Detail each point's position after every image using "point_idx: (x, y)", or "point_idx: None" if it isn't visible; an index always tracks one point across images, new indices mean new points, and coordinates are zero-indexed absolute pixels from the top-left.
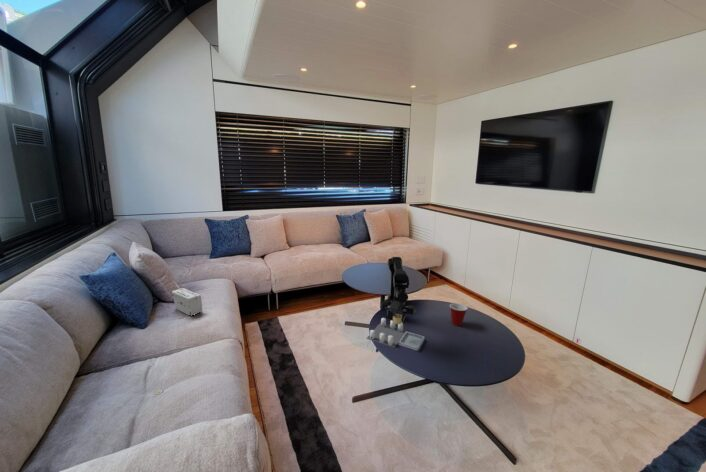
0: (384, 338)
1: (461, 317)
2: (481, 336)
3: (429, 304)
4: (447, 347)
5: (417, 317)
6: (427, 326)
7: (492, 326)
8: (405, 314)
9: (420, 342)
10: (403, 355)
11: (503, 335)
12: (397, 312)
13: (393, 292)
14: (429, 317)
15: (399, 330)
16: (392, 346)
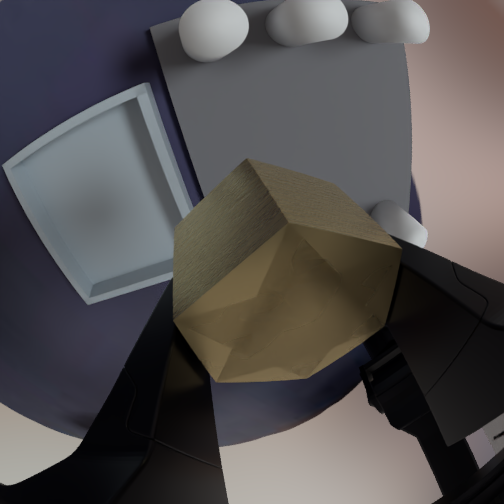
0: (277, 15)
1: None
2: (47, 405)
3: (276, 424)
4: (5, 310)
5: None
6: None
7: (83, 435)
8: (30, 477)
9: (42, 234)
10: (47, 31)
11: (41, 421)
12: None
13: (443, 441)
14: (226, 402)
15: None
16: (171, 26)
